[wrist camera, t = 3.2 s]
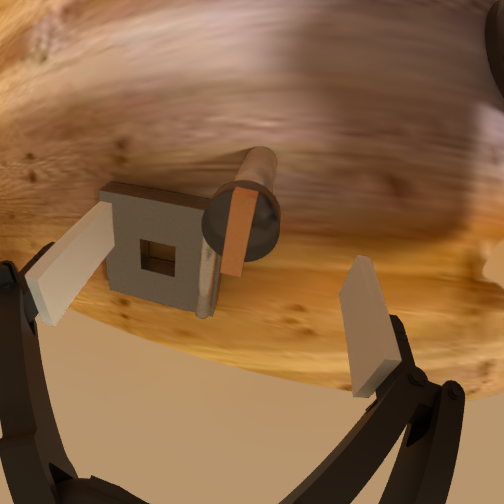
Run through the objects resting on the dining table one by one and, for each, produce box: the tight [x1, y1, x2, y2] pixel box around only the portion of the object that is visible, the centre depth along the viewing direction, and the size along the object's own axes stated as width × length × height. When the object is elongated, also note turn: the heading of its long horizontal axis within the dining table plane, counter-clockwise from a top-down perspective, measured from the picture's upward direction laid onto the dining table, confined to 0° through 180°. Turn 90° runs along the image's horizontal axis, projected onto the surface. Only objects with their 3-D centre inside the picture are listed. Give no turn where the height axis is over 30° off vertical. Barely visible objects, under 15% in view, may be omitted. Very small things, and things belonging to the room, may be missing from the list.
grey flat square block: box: [99, 182, 222, 319], centre depth 33 cm, size 14×14×4 cm
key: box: [201, 147, 281, 277], centre depth 22 cm, size 5×4×14 cm
